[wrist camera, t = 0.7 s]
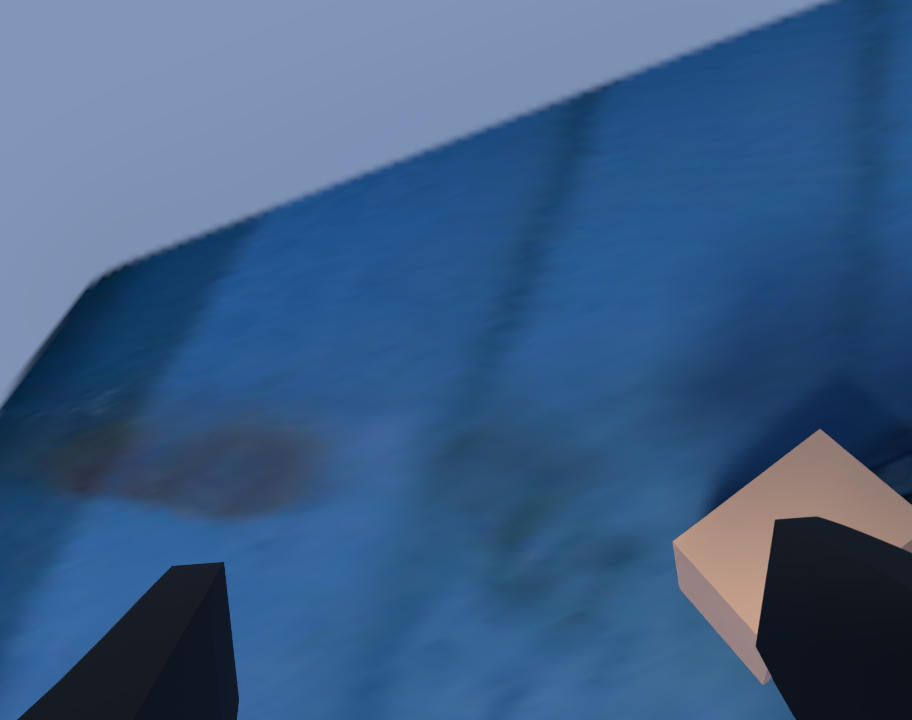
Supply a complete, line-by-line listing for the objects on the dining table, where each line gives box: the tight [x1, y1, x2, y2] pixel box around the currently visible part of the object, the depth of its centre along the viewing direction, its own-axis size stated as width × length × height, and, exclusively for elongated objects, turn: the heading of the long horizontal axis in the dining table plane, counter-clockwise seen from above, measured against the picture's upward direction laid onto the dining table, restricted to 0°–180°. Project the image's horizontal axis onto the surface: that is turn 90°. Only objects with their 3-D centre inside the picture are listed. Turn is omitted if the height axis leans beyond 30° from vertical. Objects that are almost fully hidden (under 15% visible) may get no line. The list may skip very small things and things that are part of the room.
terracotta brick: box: [673, 429, 912, 685], centre depth 24 cm, size 4×6×5 cm, turn 122°
